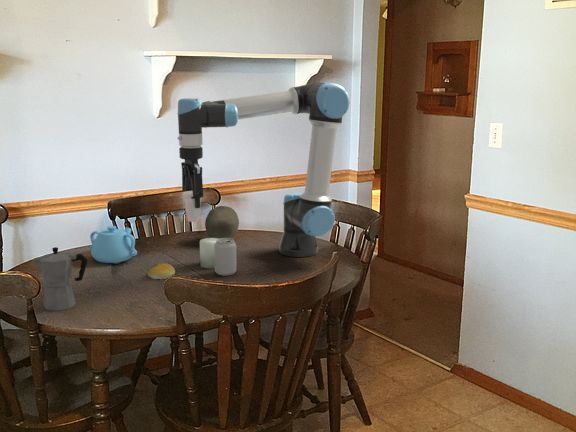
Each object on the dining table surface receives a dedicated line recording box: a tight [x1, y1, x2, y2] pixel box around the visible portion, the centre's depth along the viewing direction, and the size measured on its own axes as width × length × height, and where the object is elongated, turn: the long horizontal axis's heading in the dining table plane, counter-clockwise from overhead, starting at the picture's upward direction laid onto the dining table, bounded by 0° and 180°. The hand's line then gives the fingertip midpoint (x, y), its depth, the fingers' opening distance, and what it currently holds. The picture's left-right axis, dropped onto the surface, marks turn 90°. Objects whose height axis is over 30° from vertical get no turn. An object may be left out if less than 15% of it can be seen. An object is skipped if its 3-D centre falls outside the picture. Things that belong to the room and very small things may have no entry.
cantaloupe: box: [204, 205, 240, 239], centre depth 254 cm, size 14×14×15 cm
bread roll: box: [147, 262, 176, 280], centre depth 214 cm, size 8×9×4 cm
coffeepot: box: [32, 247, 89, 312], centre depth 186 cm, size 15×9×18 cm, turn 101°
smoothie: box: [182, 191, 200, 223], centre depth 210 cm, size 6×6×14 cm
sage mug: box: [199, 237, 218, 269], centre depth 226 cm, size 10×8×9 cm
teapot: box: [89, 225, 138, 265], centre depth 233 cm, size 20×20×13 cm
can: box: [214, 238, 237, 277], centre depth 217 cm, size 8×8×12 cm
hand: (193, 214), depth 211 cm, fingers closed on smoothie, 6 cm apart
